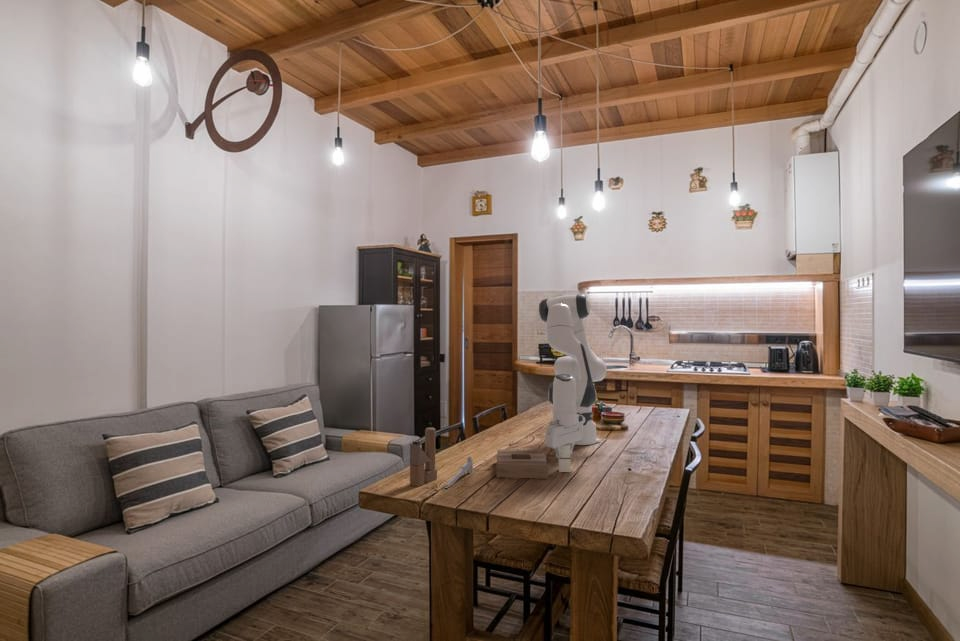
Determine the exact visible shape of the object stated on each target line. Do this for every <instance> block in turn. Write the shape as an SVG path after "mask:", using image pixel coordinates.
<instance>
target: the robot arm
mask: <svg viewBox="0 0 960 641" xmlns="http://www.w3.org/2000/svg"><path fill="white" fill-rule="evenodd" d="M590 312H591V302H590V300H589V297H588V296H587V295H586V294H582V293H577V294H563V295H561V296H554V297H551V298H550V297H549V298H544V299H541V301H540V303H539V304H538V314H539V317H540V319H541V321H543V322H544V323H546V338H547V339H546V340H547V344H548V345H549V347H550V348H551V349H553V350H554V351H556V352H557V353H560V354H563V355H564V356H560V357H558V358H557V359H556V360H555V362H554V364H553V370H554V374H555V376H554V378H553V381H552V382H551V383H549V385H548V386H547V391H548V393H547V394H548V396H547V401H548V402H549V403H550V404H551V405H553V407H552V421H550V422H549V424H548V425H547V427H546V430H545V434H544V435H545V438H544V445H545V447H546V448H547V449H548V448H549V449H553V450H554V453H555V458H557V459H558V458H561V457H562V453H561V452H560V449H561V446H563V445H566V444H570V455H572V454H573V452H574V451H573V450H574V447H575V446H576V445H577V446H589V445H594V444H596V443H600V442H601V439H599V437H597V424H596V423H595V422H594V421H593V419H594V412H593V410H592V409H593V408H592V407H593V405H594V403H596V400H597V389H596V387H595V384H594V382H601V381H603V380H604V379H605V377H606V376H607V372H608V367H607V364H606V362H605V361H604V360H603V359H601V358H600V357H598V355H596V354H595V352H594V351H593V349H592V348H591V346H590V344H589V341H588V337H587V333H586V327H585V323H584V319H585V318H587V317H589V315H590ZM565 355H566V356H565Z"/></svg>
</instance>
